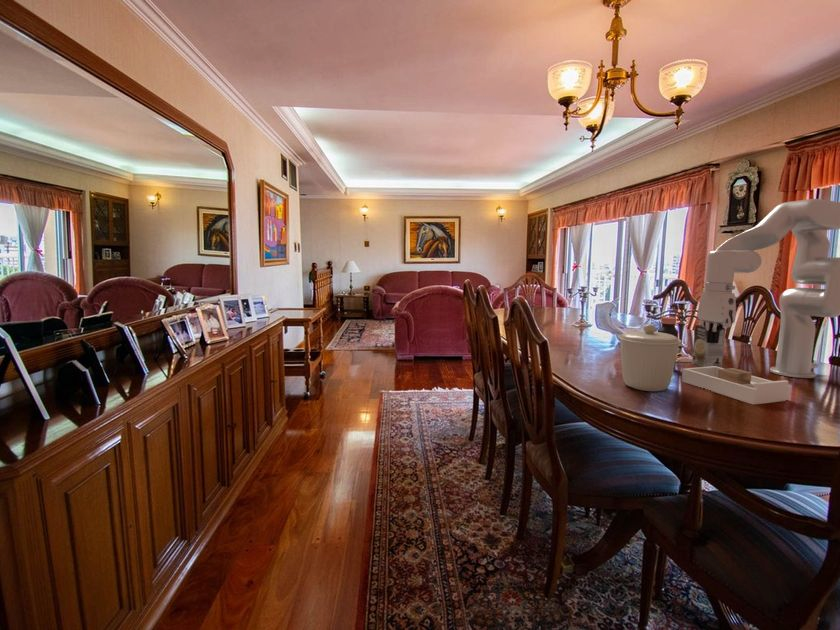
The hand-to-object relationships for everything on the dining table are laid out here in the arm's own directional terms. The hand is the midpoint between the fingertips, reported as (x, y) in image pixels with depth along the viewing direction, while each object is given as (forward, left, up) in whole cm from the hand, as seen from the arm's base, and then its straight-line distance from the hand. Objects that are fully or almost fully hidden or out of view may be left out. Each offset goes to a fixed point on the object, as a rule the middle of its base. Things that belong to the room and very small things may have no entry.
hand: (712, 342), depth 138 cm
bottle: (-1, -20, -14) cm, 24 cm away
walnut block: (0, +8, -11) cm, 14 cm away
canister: (+24, -3, -14) cm, 28 cm away
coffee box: (-20, -19, -14) cm, 31 cm away
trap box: (0, +7, -14) cm, 16 cm away
